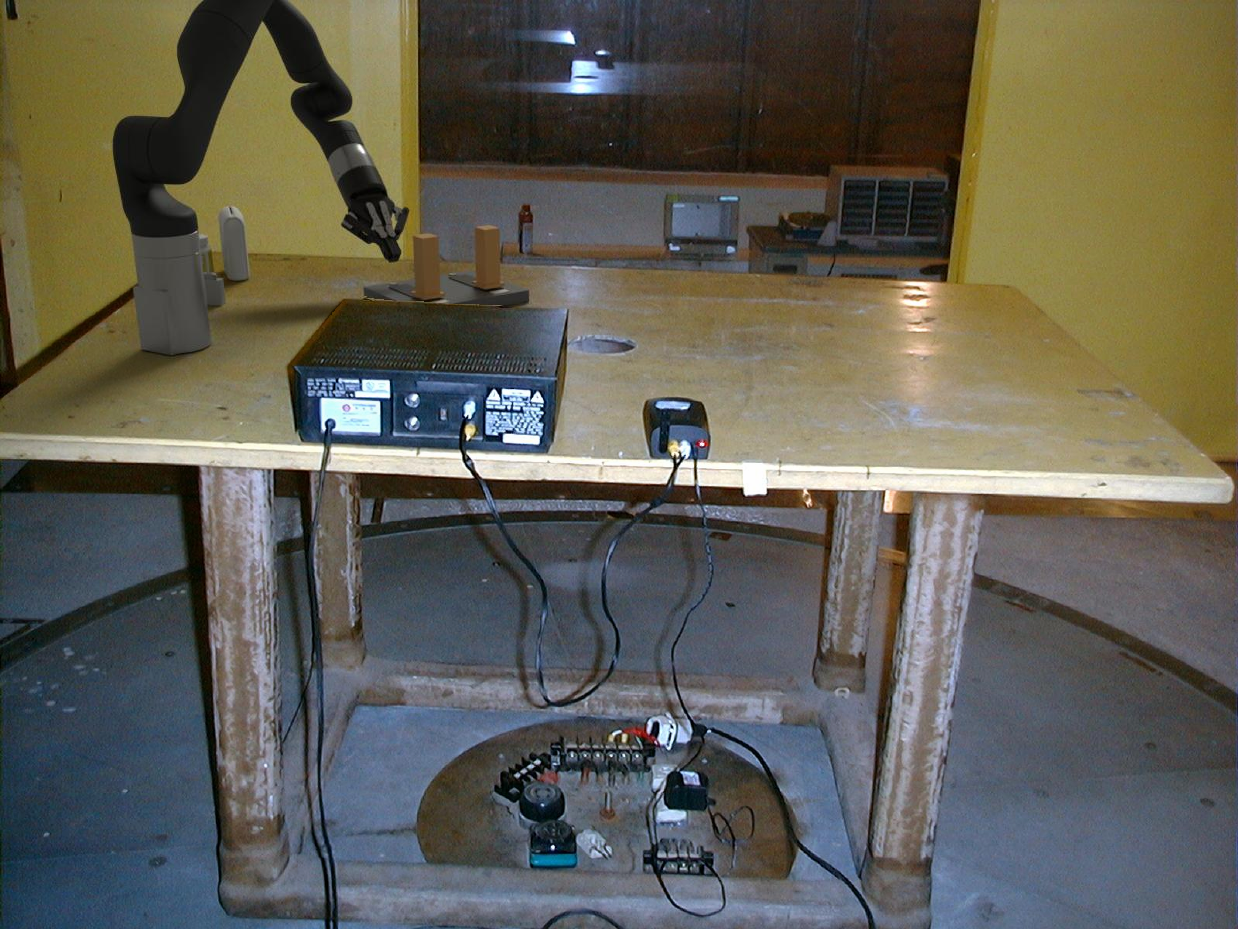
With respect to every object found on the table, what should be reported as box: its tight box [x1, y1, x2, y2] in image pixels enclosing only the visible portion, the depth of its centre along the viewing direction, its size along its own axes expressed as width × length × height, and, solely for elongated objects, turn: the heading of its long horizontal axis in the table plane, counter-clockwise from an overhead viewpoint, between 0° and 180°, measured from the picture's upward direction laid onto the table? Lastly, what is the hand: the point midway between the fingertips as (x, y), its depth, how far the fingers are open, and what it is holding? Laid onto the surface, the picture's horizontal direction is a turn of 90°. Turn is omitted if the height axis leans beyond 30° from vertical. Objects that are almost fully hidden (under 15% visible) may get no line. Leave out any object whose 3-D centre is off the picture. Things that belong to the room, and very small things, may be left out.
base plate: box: [362, 269, 530, 306], centre depth 209 cm, size 22×18×2 cm
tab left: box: [411, 232, 445, 300], centre depth 201 cm, size 4×4×10 cm
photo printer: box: [217, 205, 251, 282], centre depth 221 cm, size 10×4×12 cm, turn 21°
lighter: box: [203, 272, 226, 307], centre depth 203 cm, size 7×2×8 cm, turn 83°
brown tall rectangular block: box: [472, 224, 505, 289], centre depth 208 cm, size 4×4×10 cm
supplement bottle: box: [199, 233, 215, 273], centre depth 216 cm, size 5×5×8 cm
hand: (395, 259), depth 209 cm, fingers closed
